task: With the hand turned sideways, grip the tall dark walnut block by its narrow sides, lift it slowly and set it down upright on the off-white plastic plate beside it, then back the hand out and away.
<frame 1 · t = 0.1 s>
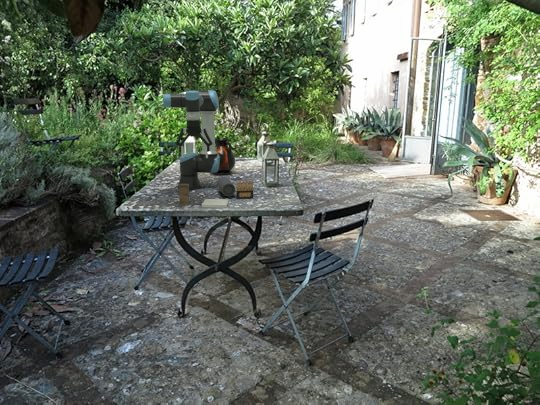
hand: (194, 157, 257), 28 cm above the table, tool pointing down, fingers open, 13 cm apart
ammunition clip: (244, 198, 282), on the table
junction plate: (215, 204, 266), on the table
amphora vase: (222, 174, 363), on the table
walnut block: (184, 204, 266), on the table
bluetooth speaker: (225, 194, 293), on the table
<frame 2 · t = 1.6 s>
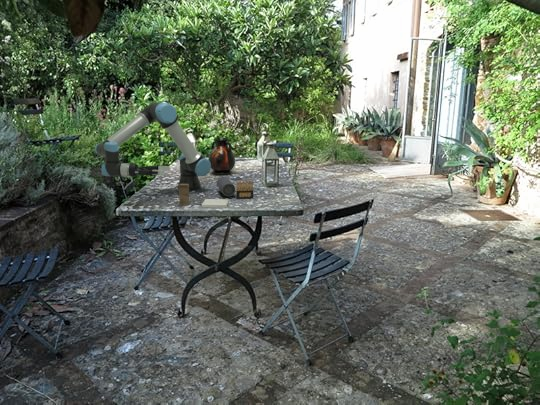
hand: (166, 170, 261), 20 cm above the table, tool horizontal, fingers open, 13 cm apart
nothing on the table moved.
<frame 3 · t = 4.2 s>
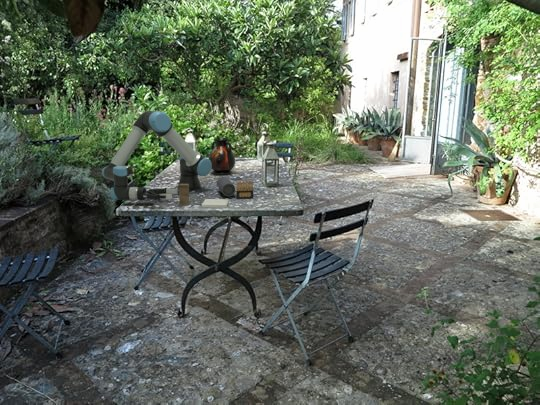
hand: (174, 194, 264), 6 cm above the table, tool horizontal, fingers open, 13 cm apart
nothing on the table moved.
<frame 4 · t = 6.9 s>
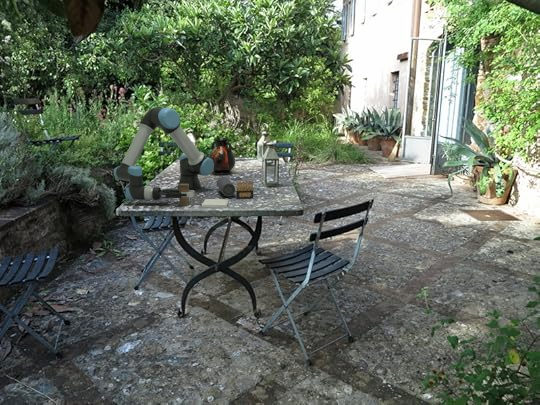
hand: (193, 193, 264), 7 cm above the table, tool horizontal, fingers closed on walnut block, 4 cm apart
walnut block: (184, 204, 266), on the table, touching gripper
everything else where it was.
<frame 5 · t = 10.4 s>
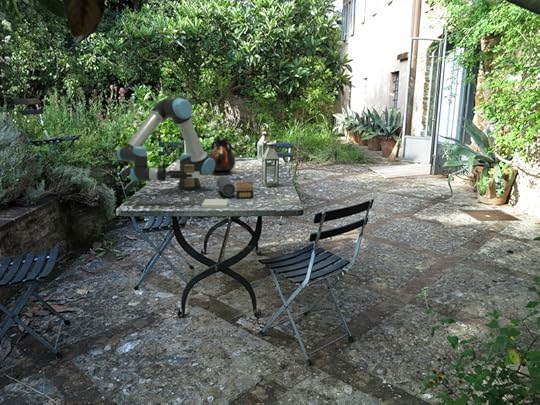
hand: (198, 174, 260), 18 cm above the table, tool horizontal, fingers closed on walnut block, 4 cm apart
walnut block: (189, 185, 262), point 11 cm above the table, touching gripper
everything else where it was.
when the fingers open (9 cm above the table, at t = 14.0 s): walnut block stays where it is, resting on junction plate.
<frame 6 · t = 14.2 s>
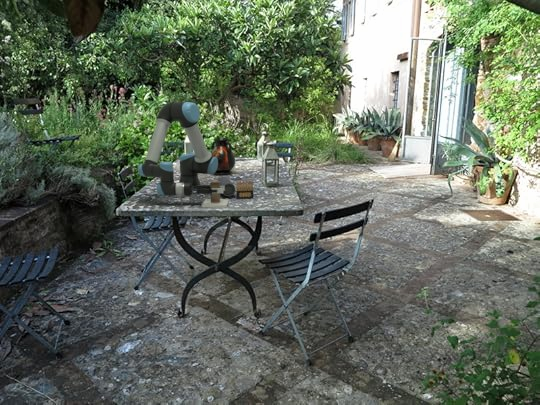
hand: (223, 189, 264), 9 cm above the table, tool horizontal, fingers open, 6 cm apart
walnut block: (215, 202, 266), point 1 cm above the table, touching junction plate
everything else where it was.
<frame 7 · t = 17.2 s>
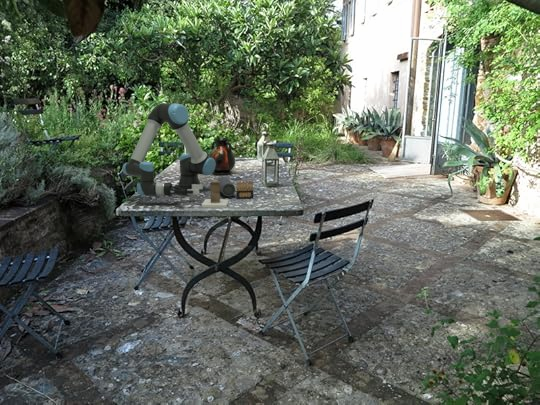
hand: (201, 189, 264), 9 cm above the table, tool horizontal, fingers open, 13 cm apart
nothing on the table moved.
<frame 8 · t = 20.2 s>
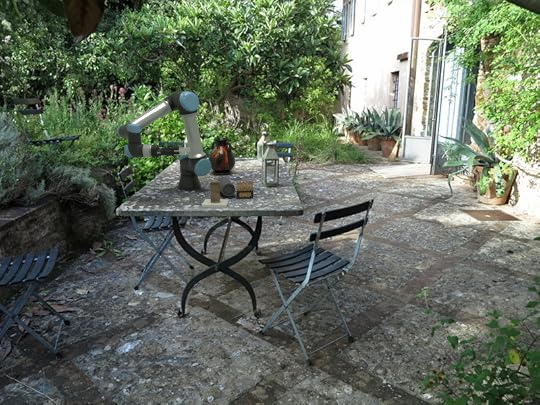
hand: (187, 151, 267), 30 cm above the table, tool horizontal, fingers open, 13 cm apart
nothing on the table moved.
at the end: walnut block inside the target area on the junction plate (0.0 cm from its centre), point 1.5 cm above the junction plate's base; walnut block tilted 0°; the gripper is holding nothing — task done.
